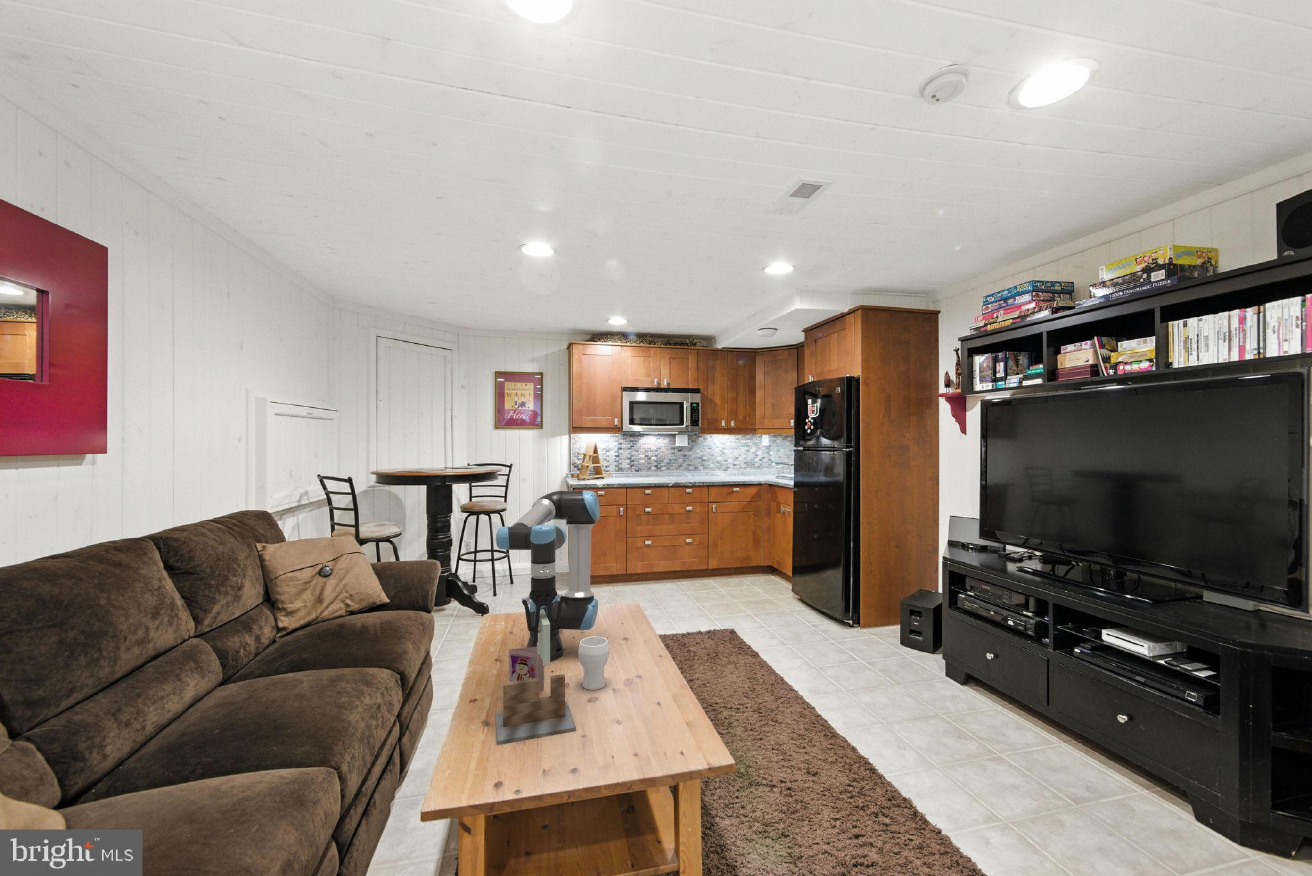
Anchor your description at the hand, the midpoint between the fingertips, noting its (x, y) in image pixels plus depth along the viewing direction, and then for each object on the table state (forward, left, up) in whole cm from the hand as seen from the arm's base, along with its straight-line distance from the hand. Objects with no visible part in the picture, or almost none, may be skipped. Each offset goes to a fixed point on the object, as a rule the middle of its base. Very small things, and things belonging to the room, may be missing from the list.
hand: (543, 651), depth 163 cm
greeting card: (-15, -3, -19) cm, 25 cm away
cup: (-14, +19, -19) cm, 31 cm away
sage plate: (+1, 0, -1) cm, 1 cm away
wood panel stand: (+5, -3, -19) cm, 20 cm away
